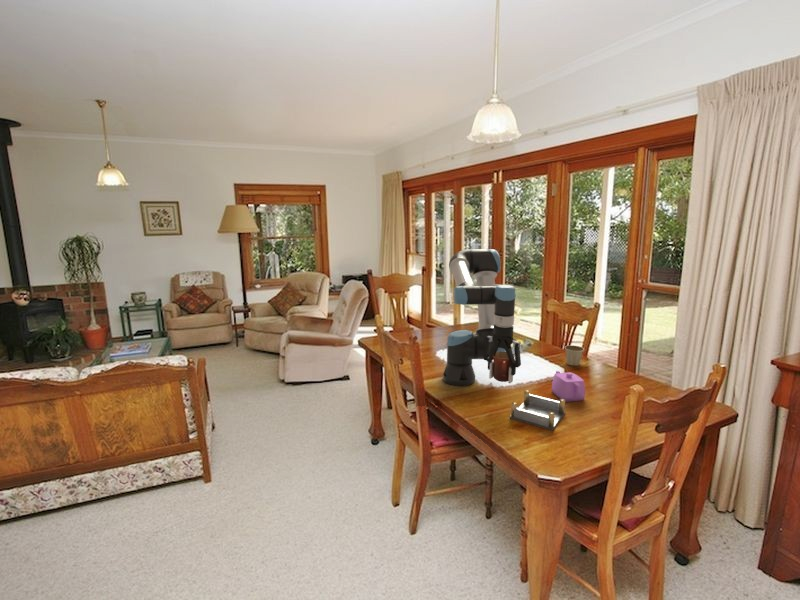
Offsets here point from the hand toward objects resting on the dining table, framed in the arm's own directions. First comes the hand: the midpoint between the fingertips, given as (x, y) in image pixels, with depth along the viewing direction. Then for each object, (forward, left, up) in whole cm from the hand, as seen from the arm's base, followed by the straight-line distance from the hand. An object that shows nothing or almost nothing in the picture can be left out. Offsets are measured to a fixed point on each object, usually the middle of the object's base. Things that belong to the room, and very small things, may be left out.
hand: (500, 379), depth 165 cm
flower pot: (+11, +68, -12) cm, 69 cm away
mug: (+1, 0, 0) cm, 1 cm away
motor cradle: (+15, +1, -11) cm, 19 cm away
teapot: (+19, +27, -12) cm, 35 cm away
